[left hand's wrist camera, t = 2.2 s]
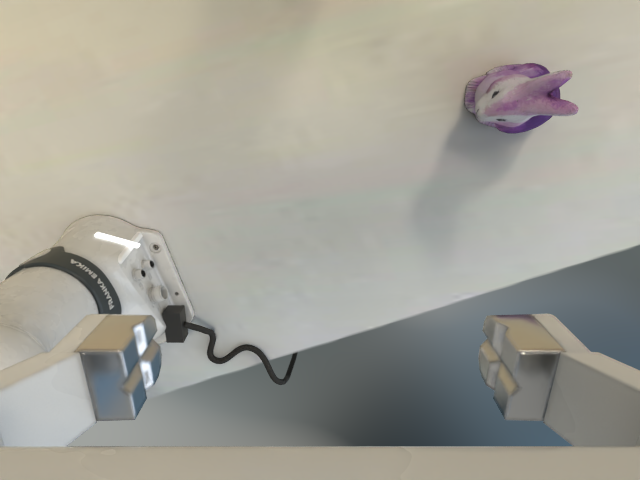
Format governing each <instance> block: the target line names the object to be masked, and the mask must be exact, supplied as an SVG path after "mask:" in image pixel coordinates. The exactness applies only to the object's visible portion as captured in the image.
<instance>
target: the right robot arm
mask: <svg viewBox="0 0 640 480" xmlns="http://www.w3.org/2000/svg"><path fill="white" fill-rule="evenodd" d="M155 245H158V247H159V248H156V247H155ZM90 314H128V315H152V316H153V317H154V318H155V321H156V326H157V332H156V334H155V335H154V337H153V339H154V341H155V342H156V343H157V344H158V345H159V344H161V343H163V342H179V343H183V342H184V341H185V339H186V337H187V335H188V329H187V328H189V329H192V330H196V331H199V332H202V333H205V334H208V335H209V336H210V342H209V346H208V350H207V355H208V358H209V359H210V361H212V362H214V363H216V364H222V363H225V362H227V361H229V360H230V359H231V358H233V357H234V356H235V355H237V354H238V353H240V352H241V351H244V350H249V351H252V352H254V353H255V354H257V355H258V356H259V357H260V359H261V360H262V362H263V364H264V366H265V368H266V370H267V372H268V374H269V376H270V378H271V379H272V380H273V381H274V382H275V383H276V384H279V385H283V384H286V383H287V381H288V380H289V378H290V376H291V373H292V370H293V367H294V364H295V361H296V357H297V353H298V352H295V353H293V354H292V358H291V361H290V364H289V367H288V369H287V372H286V375H285V377H284V378H283V379H278V378H277V377H276V375H275V374H274V372H273V370H272V367H271V365H270V363H269V361H268V359H267V358H266V356H265V355H264V353H263V352H262V351H261V350H259V349H258V348H256V347H254V346H252V345H242V346H239V347H237V348H236V349H234V350H233V351H232V352H230V353H229V354H228V355H227V356H225V357H223V358H216V357H215V356H214V355H213V348H214V344H215V340H216V336H215V333H214V331H213V330H211V329H208V328H205V327H202V326H199V325H196V324H192V323H191V321H192V320H193V318H194V316H195V313H194V310H193V308H192V305H191V303H190V300H189V298H188V296H187V293H186V291H185V289H184V286H183V284H182V281H181V279H180V277H179V274H178V272H177V269H176V267H175V265H174V262H173V260H172V257H171V255H170V253H169V250H168V248H167V246H166V243H165V241H164V238H163V236H162V235H161V233H159V232H158V231H155V230H151V229H145V228H138V227H136V226H133V225H132V224H130V223H128V222H126V221H124V220H121V219H119V218H115V217H112V216H106V215H92V216H87V217H83V218H81V219H79V220H77V221H75V222H73V223H72V224H71V225H70V226H69V227H68V228H67V229H66V230H65V231H64V233H63V235H62V236H61V238H60V239H59V240H58V242H57V243H56V244H55V245H54V246H52V247H51V248H50V249H46V250H44V251H42V252H40V253H38V254H36V255H35V256H33V257H31V258H30V259H28V260H26V261H25V262H23V263H22V264H20V265H19V267H18V268H16V269H15V270H13V271H12V272H11V273H10V274H9V275H8V276H7V277H6V279H5V280H4V281H3V282H1V283H0V371H1V370H3V369H5V368H7V367H10V366H12V365H14V364H17V363H19V362H21V361H23V360H26V359H28V358H30V357H32V356H35V355H37V354H39V353H42V352H50V351H51V350H52V349H53V348H54V347H55V346H56V345H57V344H58V343H59V342H60V341H61V340H62V339H63V338H64V337H65V336H66V335H67V334H68V333H69V332H70V331H71V330H72V329H73V328H74V327H75V326H76V325H77V324H78V323H79V322H80V321H81V320H82V319H83V318H84V317H85V316H86V315H90Z"/></svg>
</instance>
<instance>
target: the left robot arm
mask: <svg viewBox="0 0 640 480" xmlns="http://www.w3.org/2000/svg"><path fill="white" fill-rule="evenodd" d="M156 332H157V326H156V321H155V318H154V317H153V316H152V315H128V314H90V315H86V316H85V317H84V318H83V319H82V320H81V321H80V322H79V323H78V324H77V325H76V326H75V327H74V328H73V329H72V330H71V331H70V332H69V333H68V334H67V335H66V336H65V337H64V338H63V339H62V340H61V341H60V342H59V343H58V344H57V345H56V346H55V347H54V348H53V349H52V350H51V351H50V352H42V353H39V354H37V355H35V356H32V357H30V358H28V359H26V360H23V361H21V362H19V363H17V364H14V365H12V366H10V367H7V368H5V369H3V370H1V371H0V480H640V371H639V370H637V369H635V368H632V367H630V366H628V365H626V364H623V363H621V362H619V361H617V360H614V359H612V358H610V357H608V356H605V355H603V354H601V353H598V352H590V351H589V350H588V349H587V348H586V347H585V346H584V345H583V344H582V343H581V342H580V341H579V340H578V339H577V338H576V337H575V336H574V335H573V334H572V333H571V332H570V331H569V330H568V329H567V328H566V327H565V326H564V325H563V324H562V323H561V322H560V321H559V320H558V319H557V318H556V317H555V316H554V315H551V314H529V315H528V314H527V315H490V316H487V317H486V319H485V321H484V325H483V332H484V334H485V335H486V337H487V340H486V341H485V342H484V343H483V344H482V345H481V346H480V350H479V369H480V372H481V376H482V378H483V380H484V382H485V384H486V385H487V386H488V387H490V388H491V389H493V390H494V391H495V392H494V397H493V399H494V401H495V402H496V404H497V406H498V408H499V410H500V411H501V413H502V415H503V417H504V419H505V420H530V421H544V423H545V424H546V425H547V426H548V427H550V428H551V429H552V430H554V431H555V432H556V433H557V434H559V435H560V436H561V437H562V438H564V439H565V440H566V441H568V442H569V443H570V444H571V445H573V446H523V447H522V446H516V447H515V446H513V447H512V446H507V447H506V446H503V447H502V446H494V447H493V446H489V447H488V446H485V447H484V446H481V447H479V446H470V447H469V446H468V447H465V446H464V447H463V446H459V447H458V446H454V447H452V446H451V447H450V446H448V447H446V446H444V447H443V446H440V447H437V446H435V447H251V446H250V447H249V446H243V447H240V446H239V447H238V446H236V447H235V446H234V447H232V446H231V447H230V446H226V447H225V446H224V447H223V446H222V447H221V446H220V447H219V446H218V447H217V446H215V447H212V446H208V447H206V446H204V447H203V446H199V447H198V446H194V447H193V446H192V447H191V446H188V447H187V446H183V447H178V446H177V447H176V446H175V447H174V446H172V447H171V446H170V447H169V446H159V447H158V446H154V447H153V446H152V447H150V446H149V447H147V446H145V447H144V446H140V447H139V446H125V447H122V446H116V447H115V446H112V447H111V446H104V447H103V446H101V447H100V446H93V447H92V446H90V447H89V446H78V447H76V446H75V447H74V446H69V447H68V446H67V445H69V444H70V443H71V442H73V441H74V440H75V439H76V438H78V437H79V436H80V435H82V434H83V433H84V432H85V431H87V430H88V429H89V428H91V427H92V426H93V425H94V424H96V421H109V420H135V418H136V417H137V415H138V413H139V411H140V410H141V408H142V406H143V404H144V402H145V401H146V399H147V397H146V392H145V391H146V390H147V389H149V388H150V387H152V386H153V385H154V384H155V382H156V380H157V378H158V376H159V372H160V368H161V349H160V346H159V345H158V344H157V343H156V342H155V341H154V339H153V337H154V335H155V334H156Z"/></svg>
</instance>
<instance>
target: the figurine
mask: <svg viewBox="0 0 640 480" xmlns="http://www.w3.org/2000/svg"><path fill="white" fill-rule="evenodd" d="M571 77H572V72H571V71H564V70H563V71H558V72H554V73H550V72H549V71H548V70H547V69H546V68H545V67H544V66H542V65H539V64H535V63H527V64H523V65H522V64H517V65H505V66H500V67H496V68H493V69H492V70H490V71H488V72H487V73H486V74H485V75H484V76H481V77H477V78H474V79H472V80H471V81H469V82H468V85H467V87H466V94H465V95H466V96H465V107H466V108H467V110H469V111H470V112H472V113H474V114H475V117H476V119H477V120H478V121H479V122H480V123H483V124H486V125H488V126H492V127H495V128H497V129H498V130H500V131H502V132H505V133H520V132H525V131H528V130H531V129H534V128H536V127H538V126H540V125H542V124H543V123H545V122H546V121H547V120H549V119H550V118H551V117H552V116H570V115H574V114H576V113H577V112H578V107H577V106H576V105H575V104H574V103H571V102H569V101H566V100H562V99H560V90H559V87H561V86H562V85H563V84H564V83H566V82H567V81H568V80H569V79H571Z"/></svg>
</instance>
